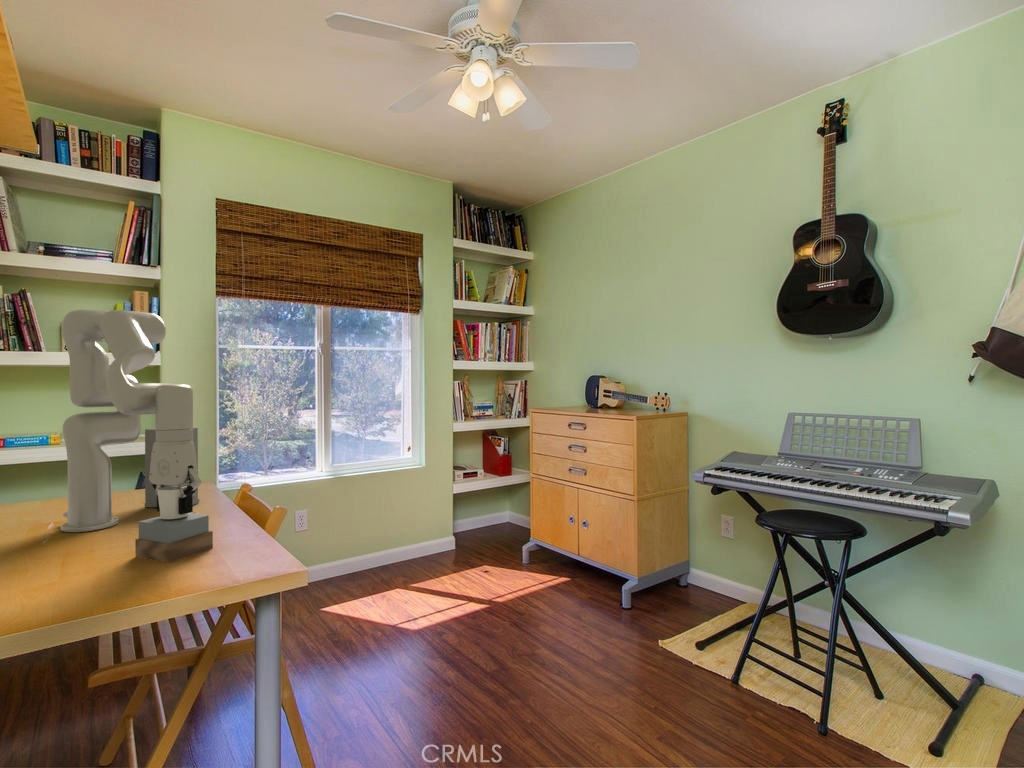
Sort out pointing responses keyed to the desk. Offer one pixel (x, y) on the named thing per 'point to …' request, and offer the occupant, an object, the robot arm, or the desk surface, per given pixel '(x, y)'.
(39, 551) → the desk surface
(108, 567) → the desk surface
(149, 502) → the tall grey upright box
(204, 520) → the top block
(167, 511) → the beige cup
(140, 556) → the base block
